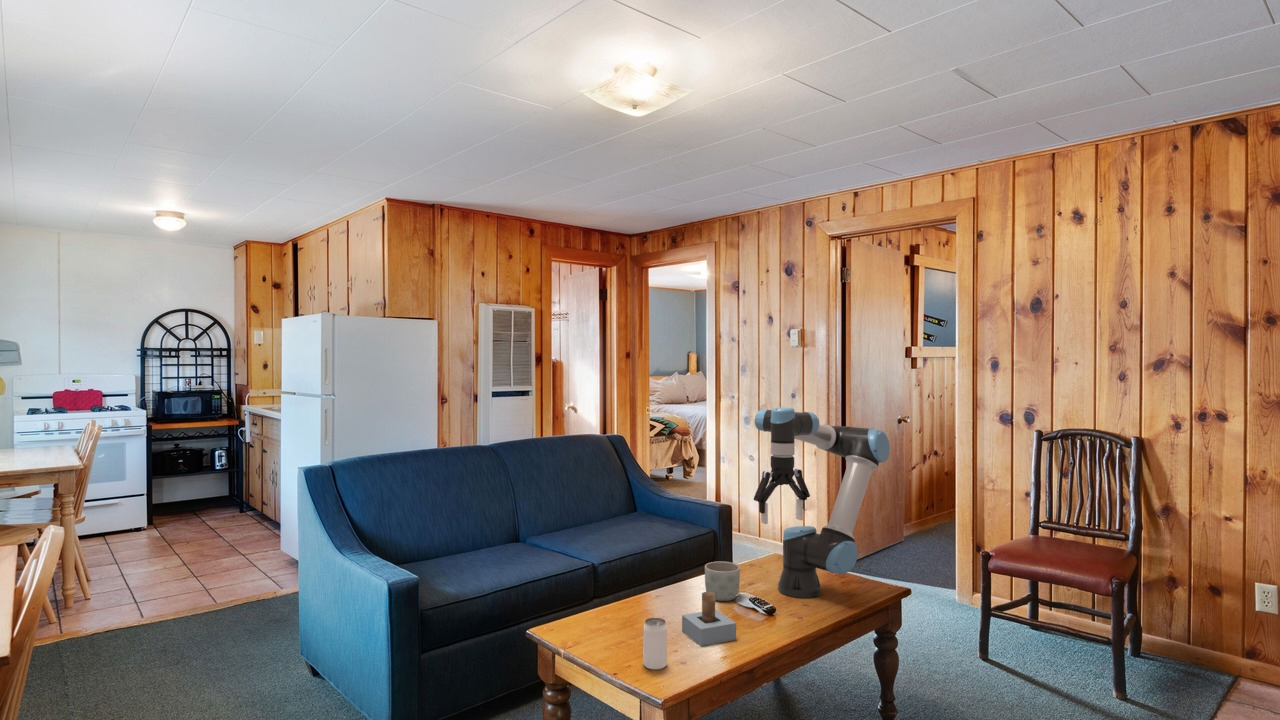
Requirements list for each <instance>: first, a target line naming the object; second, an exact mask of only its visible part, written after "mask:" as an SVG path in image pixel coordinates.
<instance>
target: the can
mask: <svg viewBox="0 0 1280 720" xmlns="http://www.w3.org/2000/svg"><path fill="white" fill-rule="evenodd" d="M644 622H645V623H644V625H643V630H642V631H643V632H642V633H643V634H642V635H643V636H642V637H643V639H642V640H643V641H642V642H643V644H642V646H643V647H642V648H643V651H642V652H643V653H642V654H643V657H642V658H643V659H642V661H643V662H642V663H643V666H644V667H645V668H646V669H648V670H652V671H658V670H663V669H665V667H666V666H667V665H668V664H667V663H668V661H667V660H668V626H667V624H666V620H665V619H664V618H661V617H649V618H647V619H645V620H644Z"/></svg>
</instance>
